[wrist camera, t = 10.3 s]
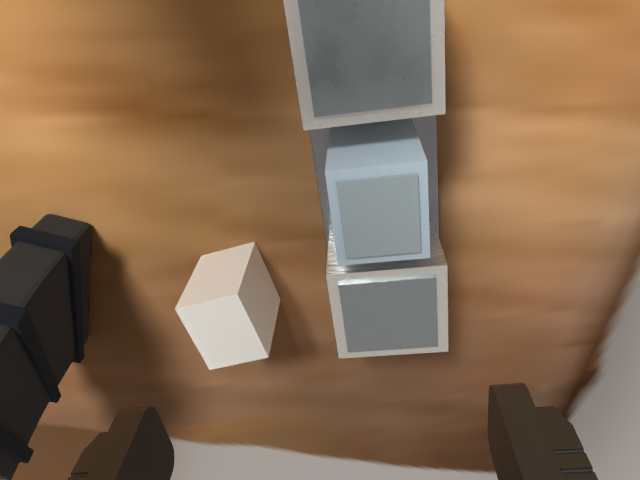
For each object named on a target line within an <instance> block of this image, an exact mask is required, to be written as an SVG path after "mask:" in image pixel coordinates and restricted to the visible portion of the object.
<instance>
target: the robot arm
mask: <svg viewBox="0 0 640 480" xmlns="http://www.w3.org/2000/svg"><path fill="white" fill-rule="evenodd" d="M488 438H489V445H490V451H491V455H492V459H493V463H494V466H495V470H496V473H497V477H498V480H598V479H597V477H596V474H595V473H594V472H593V470H592V466H591V464H590V461H589V459H588V457H587V455H586V453H584V450H583V447H582V444H581V442H580V440H579V438H578V436H577V434H576V432H575V429H574V427H573V425H572V424H571V423H570V422H569V421H568V420H567V419H566V418H565V417H564V416H563V415H562V414H561V413H560V412H559V411H558V410H557V409H556V408H555V407H554V406H550V407H535V405H534V403H533V401H532V398H531V396H530V393H529V391H528V388H527V387H526V385H525V384H524V383H516V384H501V385H490V387H489V405H488ZM173 467H174V450H173V446H172V443H171V441H170V439H169V436H168V434H167V432H166V430H165V428H164V425H163V423H162V421H161V419H160V417H159V414H158V412H157V410H156V409H155V408H154V407H140V408H125V409H121V410H120V411H119V412H118V413H117V415H116V417H115V419H114V421H113V423H112V425H111V427H110V429H109V431H108V432H104V433H99V434H98V435H97V436H96V438H95V439H94V440H93V441H92V442H91V443H90V444H89V445H88V446H87V447H86V448H85V450H84V451H83V452H82V453H81V455H80V457H79V459H78V461H77V463H76V465H75V467H74V469H73V471H72V472H71V477H69V478H68V480H170V478H171V475H172V472H173Z"/></svg>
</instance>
